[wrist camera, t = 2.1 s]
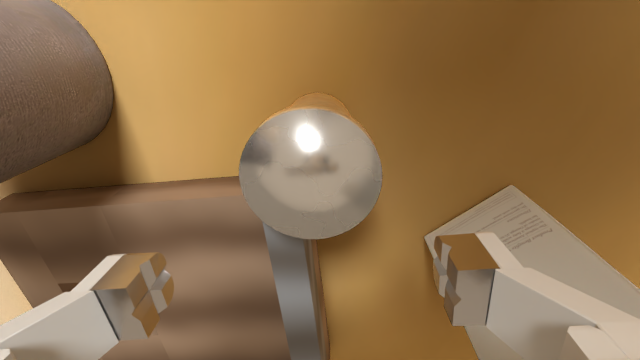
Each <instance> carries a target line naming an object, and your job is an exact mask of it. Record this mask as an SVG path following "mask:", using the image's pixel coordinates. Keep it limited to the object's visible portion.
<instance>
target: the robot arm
mask: <svg viewBox="0 0 640 360" xmlns="http://www.w3.org/2000/svg"><path fill="white" fill-rule="evenodd" d="M434 249H435V251H436V254H437V257H436V258H435V259H434V260H433V275H434V282H435V285H436V288H437V291H438V293H439V294H440V295H441V296H443V297H444V308H445V310H446V312H447V314H448V317H449V319H450V321H451V324H452V326H486V327H487V328H488V329H489V330H490V331H491V332H493V333H494V334H495V335H496V336H497V337H498V338H500V339H501V340H502V341H503V342H504V343H506V344H507V345H508V346H509V347H510V348H512V349H513V350H514V351H515V352H516V353H518V354H519V355H520V356H521V357H522V358H523V359H525V360H640V319H638V318H636V317H634V316H631V315H629V314H627V313H625V312H623V311H621V310H619V309H617V308H614V307H612V306H610V305H608V304H606V303H604V302H602V301H600V300H597V299H595V298H593V297H591V296H589V295H587V294H585V293H583V292H580V291H578V290H576V289H574V288H572V287H570V286H568V285H566V284H564V283H561V282H559V281H557V280H555V279H553V278H551V277H549V276H547V275H544V274H542V273H540V272H538V271H536V270H534V269H532V268H523V267H522V265H521V264H520V263H519V262H518V261H517V259H516V258H515V257H514V256H513V255H512V254H511V252H510V251H509V250H508V249H507V248H506V247H505V245H504V244H503V243H502V242H501V241H500V240H499V238H498V237H497V236H496V235H495V234H494V233H493V232H491V231H486V232H475V233H468V234H455V235H441V236H436V237H435V240H434ZM166 265H167V262H166V260H165V257H164V255H163V254H161V253H159V252H155V253H129V254H113V255H110V256H107V257H106V258H105V259H104V260H103V261H102V262H101V263H100V264H99V265H97V266H96V267H95V268H94V269H93V270H92V271H91V272H90V273H89V274H88V275H87V276H86V277H85V278H84V279H83V280H82V281H81V282H80V283H79V284H78V285H77V286H76V287H75V288H73V289H72V290H71V291H70V292H64V293H62V294H60V295H58V296H56V297H54V298H52V299H51V300H49V301H47V302H45V303H43V304H41V305H39V306H37V307H35V308H33V309H31V310H29V311H27V312H25V313H23V314H21V315H19V316H18V317H16V318H14V319H12V320H10V321H8V322H6V323H4V324H2V325H0V360H98V359H100V358H101V357H102V356H103V355H104V354H105V353H107V352H108V351H109V350H110V349H111V348H113V347H114V346H115V345H116V344H117V343H119V341H121V340H135V339H148V338H149V336H150V335H151V333H152V331H153V330H154V328H155V327H156V325H157V323H158V322H159V320H160V317H159V313H160V312H161V311H163V310H164V309H165V308H167V307H168V305H169V304H170V302H171V300H172V297H173V293H174V282H173V279H172V276H171V275H170V274H169V273H168V272H167V271H165V270H164V269H165V267H166Z"/></svg>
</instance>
